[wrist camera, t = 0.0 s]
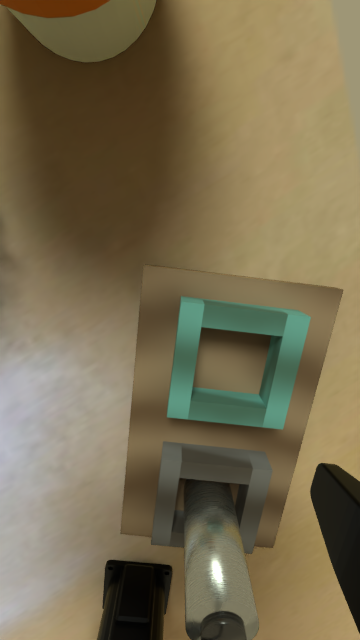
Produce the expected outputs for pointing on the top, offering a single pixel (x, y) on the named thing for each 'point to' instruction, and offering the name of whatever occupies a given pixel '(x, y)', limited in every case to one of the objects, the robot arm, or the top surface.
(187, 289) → the dock plate
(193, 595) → the steel pin
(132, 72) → the top surface
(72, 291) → the top surface
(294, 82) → the top surface
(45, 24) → the reusable coffee cup
